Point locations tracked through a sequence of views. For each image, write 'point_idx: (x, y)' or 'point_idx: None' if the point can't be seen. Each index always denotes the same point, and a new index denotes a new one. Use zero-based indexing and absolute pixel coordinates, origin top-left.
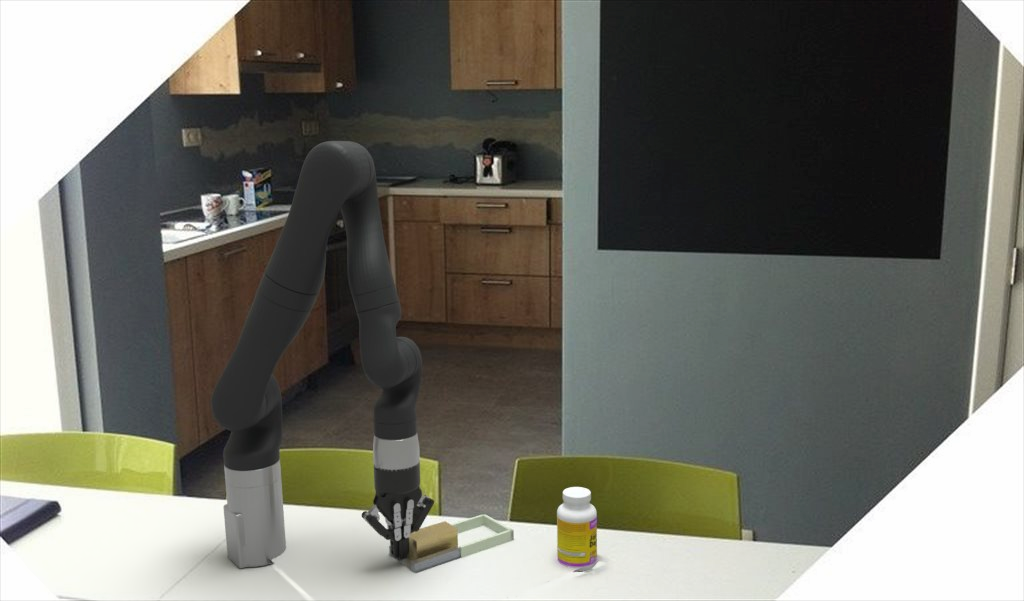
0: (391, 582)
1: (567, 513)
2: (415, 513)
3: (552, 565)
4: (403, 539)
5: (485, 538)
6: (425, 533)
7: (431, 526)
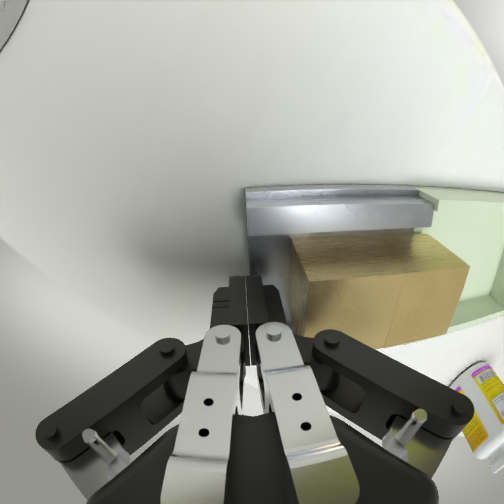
0: (190, 317)
1: (482, 457)
2: (365, 398)
3: (452, 375)
4: (254, 364)
5: (463, 326)
6: (367, 322)
7: (421, 281)
